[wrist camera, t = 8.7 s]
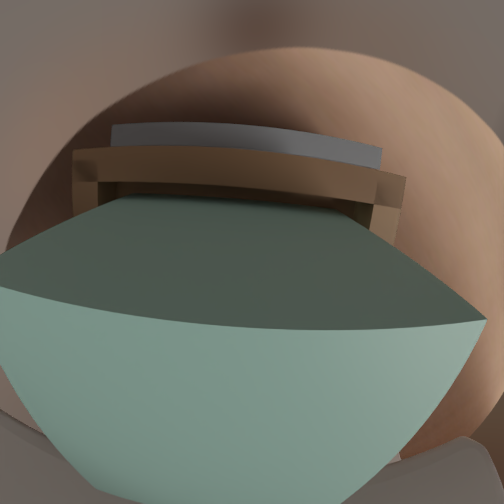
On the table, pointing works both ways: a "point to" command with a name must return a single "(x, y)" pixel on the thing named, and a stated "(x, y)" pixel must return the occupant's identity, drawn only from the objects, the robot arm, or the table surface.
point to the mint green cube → (226, 348)
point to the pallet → (238, 180)
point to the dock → (246, 140)
